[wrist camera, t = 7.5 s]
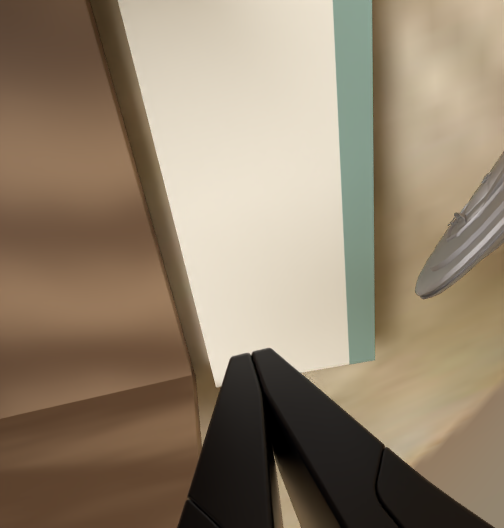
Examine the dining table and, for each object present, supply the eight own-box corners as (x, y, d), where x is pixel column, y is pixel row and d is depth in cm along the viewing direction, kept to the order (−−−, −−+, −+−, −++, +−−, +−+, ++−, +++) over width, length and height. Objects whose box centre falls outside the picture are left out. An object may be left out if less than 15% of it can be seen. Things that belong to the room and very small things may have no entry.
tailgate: (215, 369, 22) (366, 342, 22) (216, 387, 21) (375, 360, 21) (88, -146, 12) (356, -190, 13) (76, -160, 11) (370, -208, 11)
